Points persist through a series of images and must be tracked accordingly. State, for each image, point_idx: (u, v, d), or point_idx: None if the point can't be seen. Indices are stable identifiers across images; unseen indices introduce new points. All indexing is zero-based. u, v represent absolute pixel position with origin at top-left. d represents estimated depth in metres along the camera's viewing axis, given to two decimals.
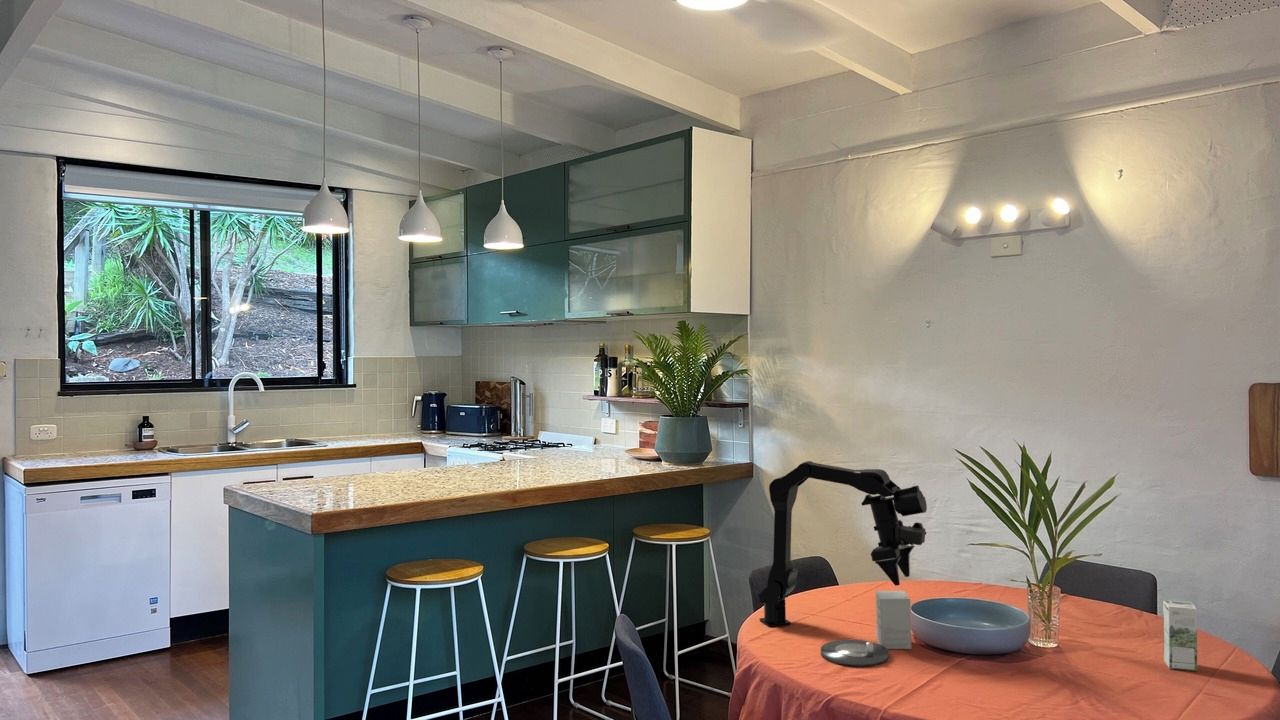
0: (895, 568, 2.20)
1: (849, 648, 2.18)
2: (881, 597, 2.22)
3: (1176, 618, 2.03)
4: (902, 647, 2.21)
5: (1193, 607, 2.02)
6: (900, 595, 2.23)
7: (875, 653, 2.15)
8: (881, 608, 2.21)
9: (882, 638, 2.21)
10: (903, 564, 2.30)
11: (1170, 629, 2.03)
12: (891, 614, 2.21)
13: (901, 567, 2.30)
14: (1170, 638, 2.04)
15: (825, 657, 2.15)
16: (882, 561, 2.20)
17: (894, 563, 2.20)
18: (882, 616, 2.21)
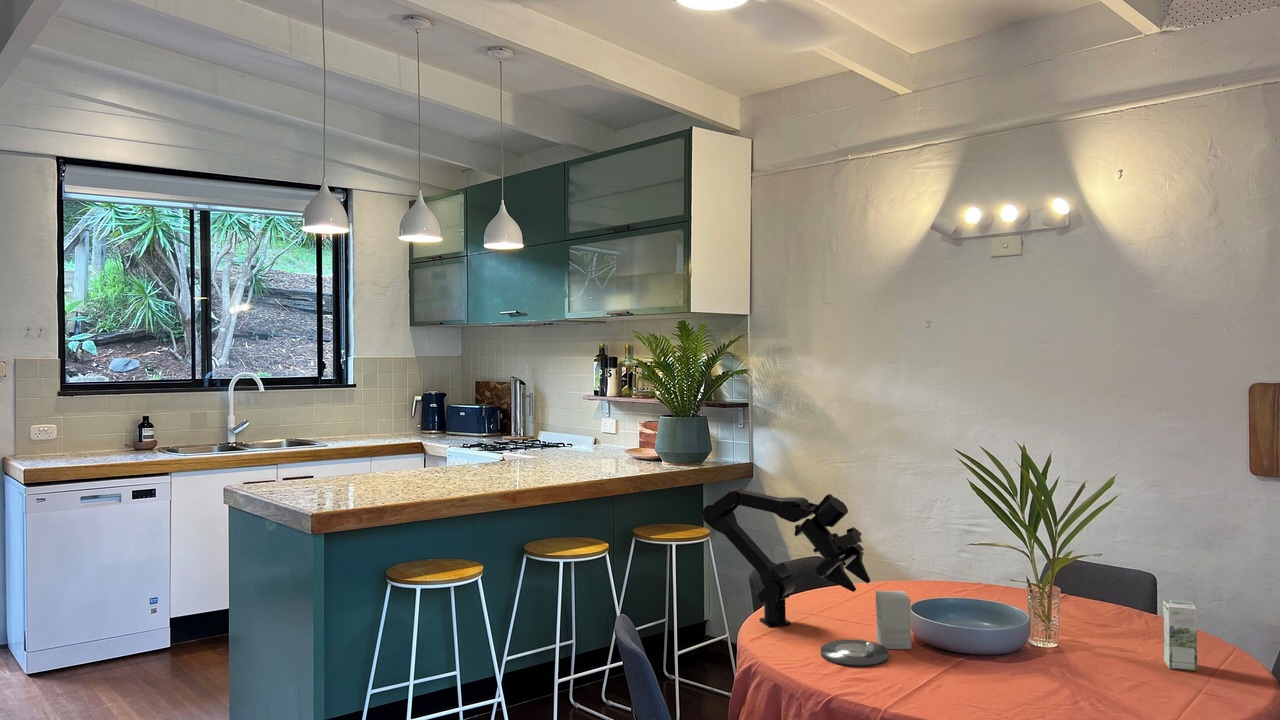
0: (843, 575, 2.25)
1: (849, 648, 2.18)
2: (881, 597, 2.22)
3: (1176, 618, 2.03)
4: (902, 647, 2.21)
5: (1193, 607, 2.02)
6: (900, 595, 2.23)
7: (875, 653, 2.15)
8: (881, 608, 2.21)
9: (882, 638, 2.21)
10: (860, 573, 2.34)
11: (1170, 629, 2.03)
12: (891, 614, 2.21)
13: (860, 576, 2.34)
14: (1170, 638, 2.04)
15: (825, 657, 2.15)
16: (828, 574, 2.26)
17: (840, 571, 2.25)
18: (882, 616, 2.21)
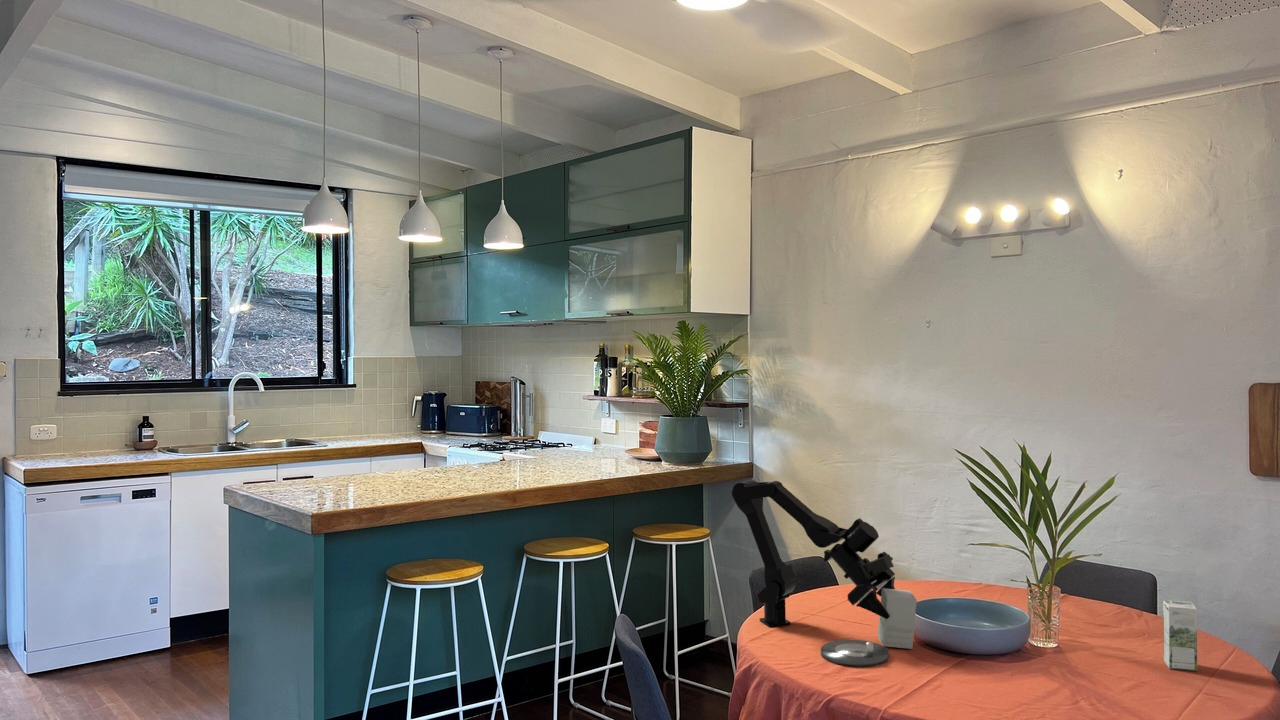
0: (876, 602, 2.20)
1: (849, 648, 2.18)
2: (887, 594, 2.22)
3: (1176, 618, 2.03)
4: (903, 646, 2.20)
5: (1193, 607, 2.02)
6: (906, 594, 2.23)
7: (875, 653, 2.15)
8: (886, 605, 2.21)
9: (884, 635, 2.21)
10: None
11: (1170, 629, 2.03)
12: (896, 612, 2.20)
13: None
14: (1170, 638, 2.04)
15: (825, 657, 2.15)
16: (861, 601, 2.21)
17: (872, 597, 2.20)
18: None
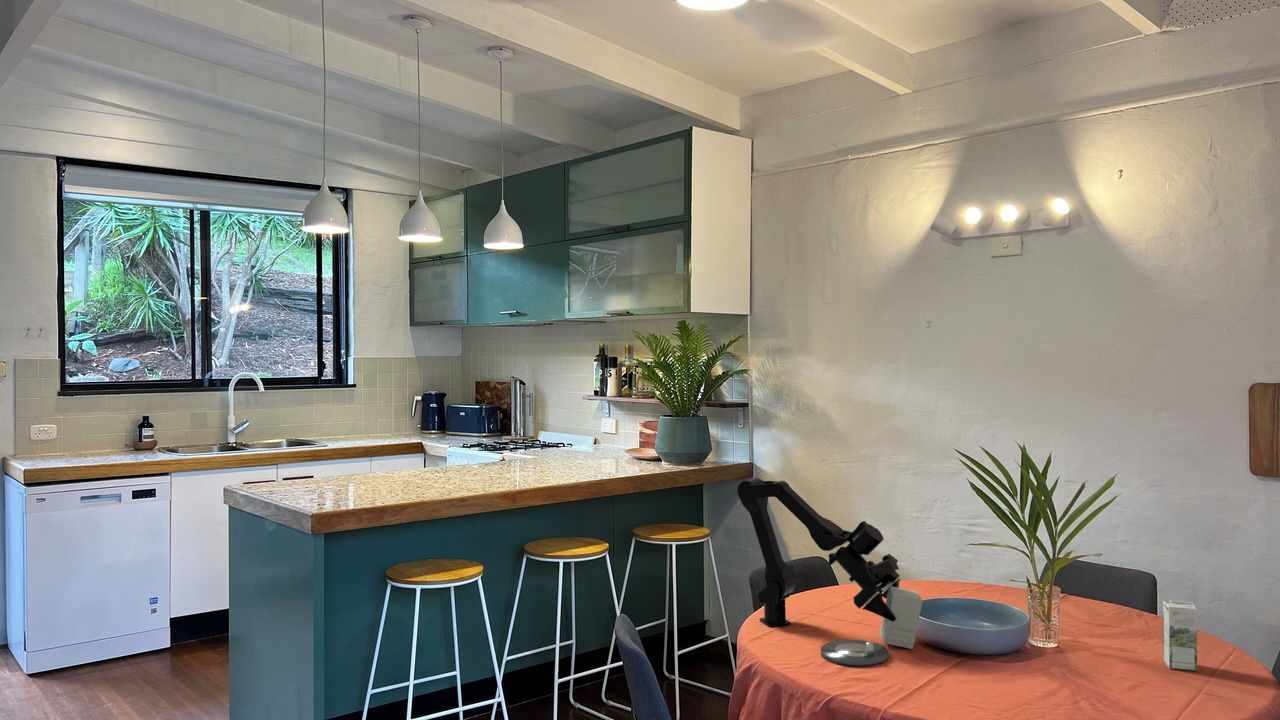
0: (882, 605, 2.20)
1: (849, 648, 2.18)
2: (894, 592, 2.22)
3: (1176, 618, 2.03)
4: (904, 645, 2.20)
5: (1193, 607, 2.02)
6: (913, 595, 2.22)
7: (875, 653, 2.15)
8: (892, 603, 2.21)
9: (886, 632, 2.21)
10: None
11: (1170, 629, 2.03)
12: (900, 611, 2.20)
13: None
14: (1170, 638, 2.04)
15: (825, 657, 2.15)
16: (867, 604, 2.20)
17: (878, 600, 2.20)
18: (891, 611, 2.21)
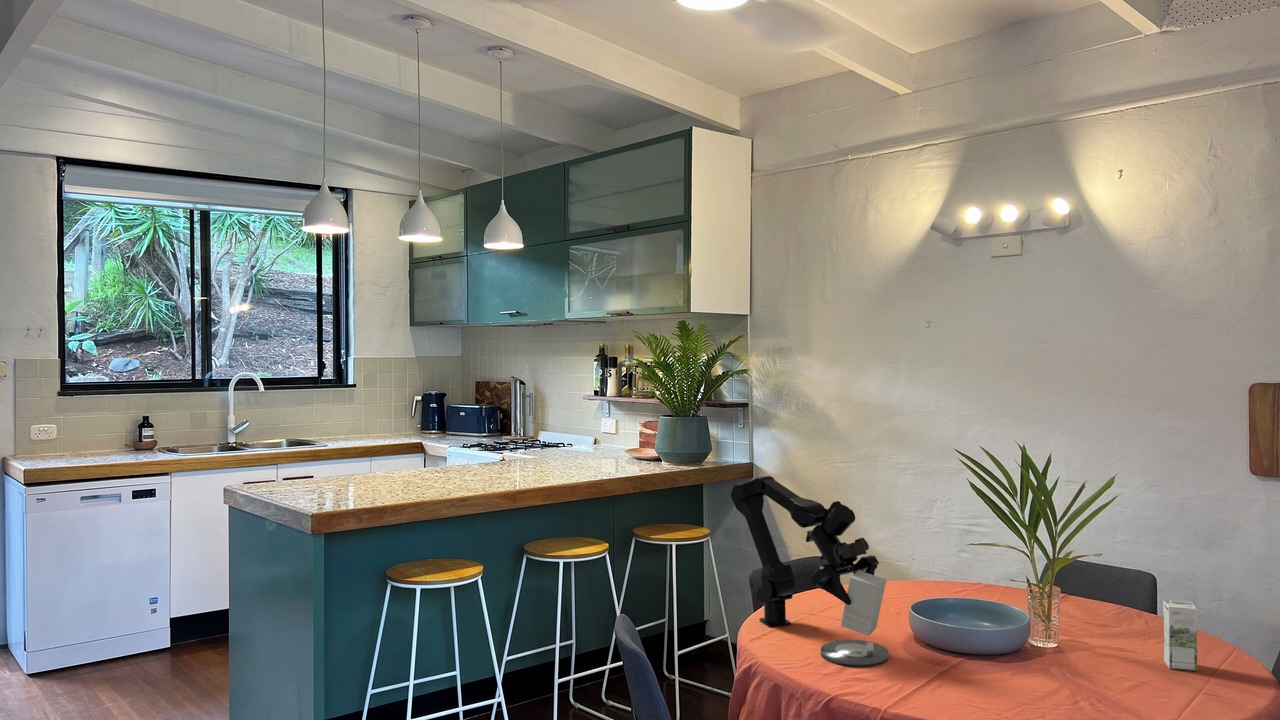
0: (838, 587, 2.15)
1: (849, 648, 2.18)
2: (853, 576, 2.16)
3: (1176, 618, 2.03)
4: (860, 631, 2.14)
5: (1193, 607, 2.02)
6: (874, 581, 2.15)
7: (875, 653, 2.15)
8: (849, 586, 2.15)
9: (843, 616, 2.16)
10: None
11: (1170, 629, 2.03)
12: (857, 595, 2.14)
13: None
14: (1170, 638, 2.04)
15: (825, 657, 2.15)
16: (823, 584, 2.17)
17: (834, 582, 2.16)
18: (848, 595, 2.15)
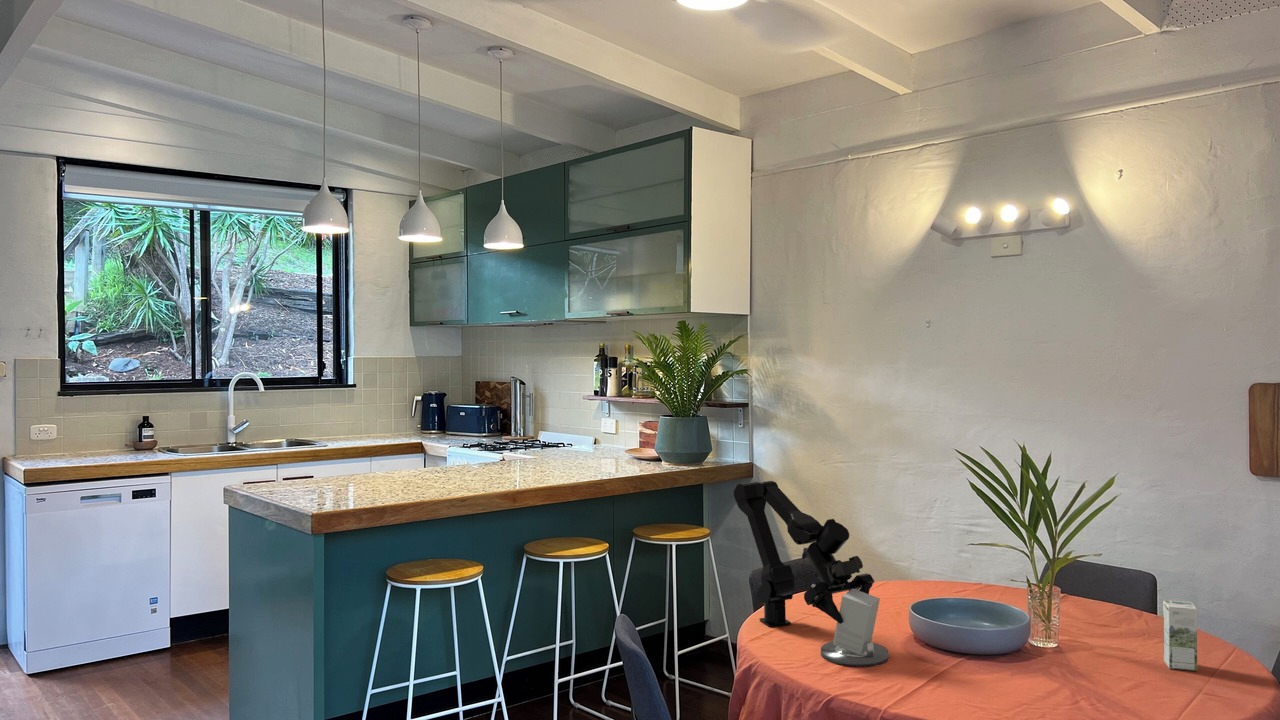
0: (830, 605, 2.15)
1: None
2: (845, 595, 2.15)
3: (1176, 618, 2.03)
4: (852, 650, 2.14)
5: (1193, 607, 2.02)
6: (867, 600, 2.14)
7: (875, 653, 2.15)
8: (841, 605, 2.15)
9: (835, 634, 2.16)
10: None
11: (1170, 629, 2.03)
12: (849, 614, 2.14)
13: None
14: (1170, 638, 2.04)
15: (825, 657, 2.15)
16: (815, 602, 2.17)
17: (826, 600, 2.16)
18: (840, 613, 2.15)
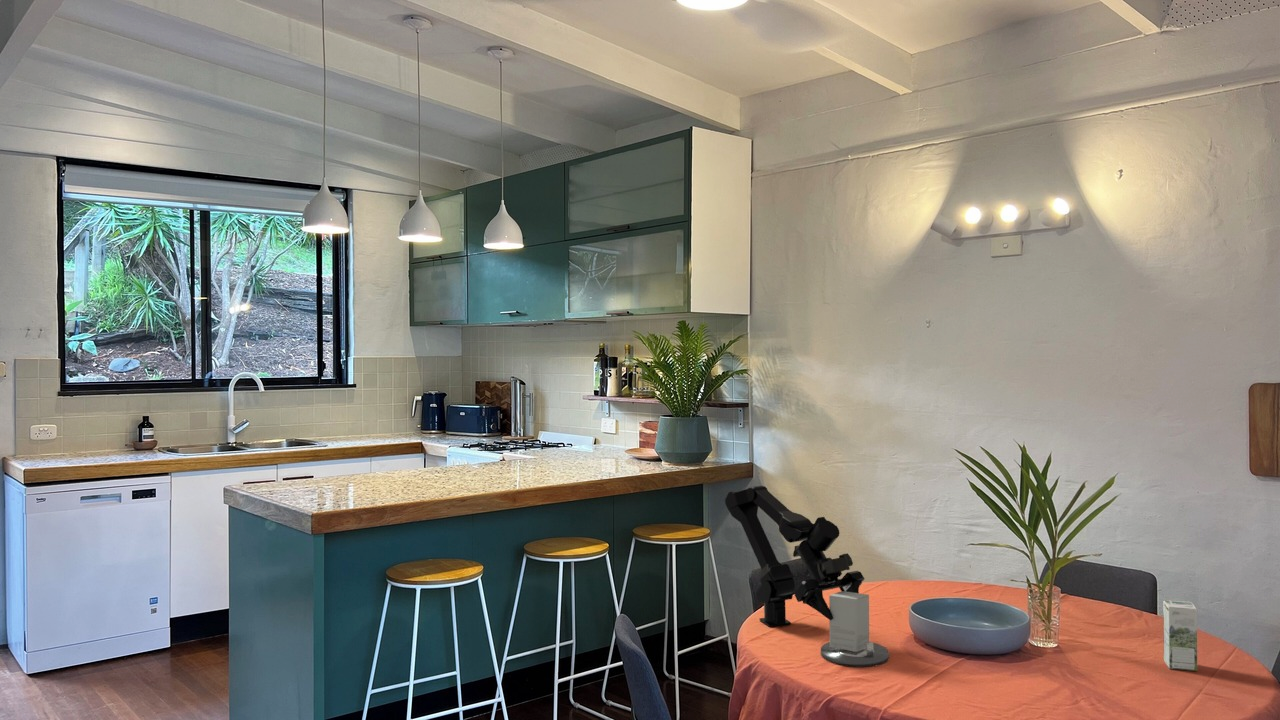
0: (820, 602, 2.18)
1: None
2: (833, 594, 2.19)
3: (1176, 618, 2.03)
4: (848, 648, 2.14)
5: (1193, 607, 2.02)
6: (854, 595, 2.17)
7: (875, 653, 2.15)
8: (830, 605, 2.18)
9: (830, 636, 2.18)
10: None
11: (1170, 629, 2.03)
12: (838, 612, 2.17)
13: None
14: (1170, 638, 2.04)
15: (825, 657, 2.15)
16: (805, 598, 2.20)
17: (816, 597, 2.19)
18: None
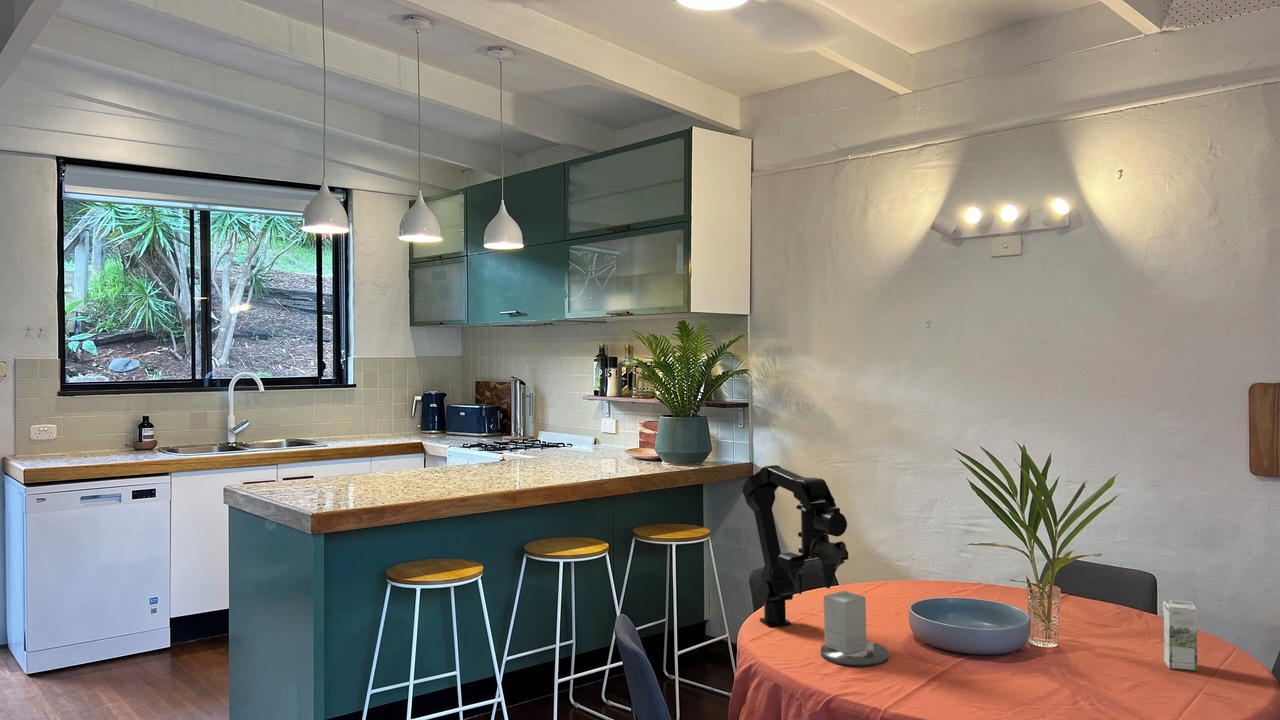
0: (797, 578, 2.23)
1: None
2: (828, 595, 2.20)
3: (1176, 618, 2.03)
4: (839, 649, 2.16)
5: (1193, 607, 2.02)
6: (846, 598, 2.17)
7: (875, 653, 2.15)
8: (824, 605, 2.20)
9: (825, 635, 2.20)
10: (827, 575, 2.30)
11: (1170, 629, 2.03)
12: (831, 613, 2.18)
13: (825, 577, 2.30)
14: (1170, 638, 2.04)
15: (825, 657, 2.15)
16: (786, 567, 2.24)
17: (796, 573, 2.23)
18: (824, 613, 2.19)
